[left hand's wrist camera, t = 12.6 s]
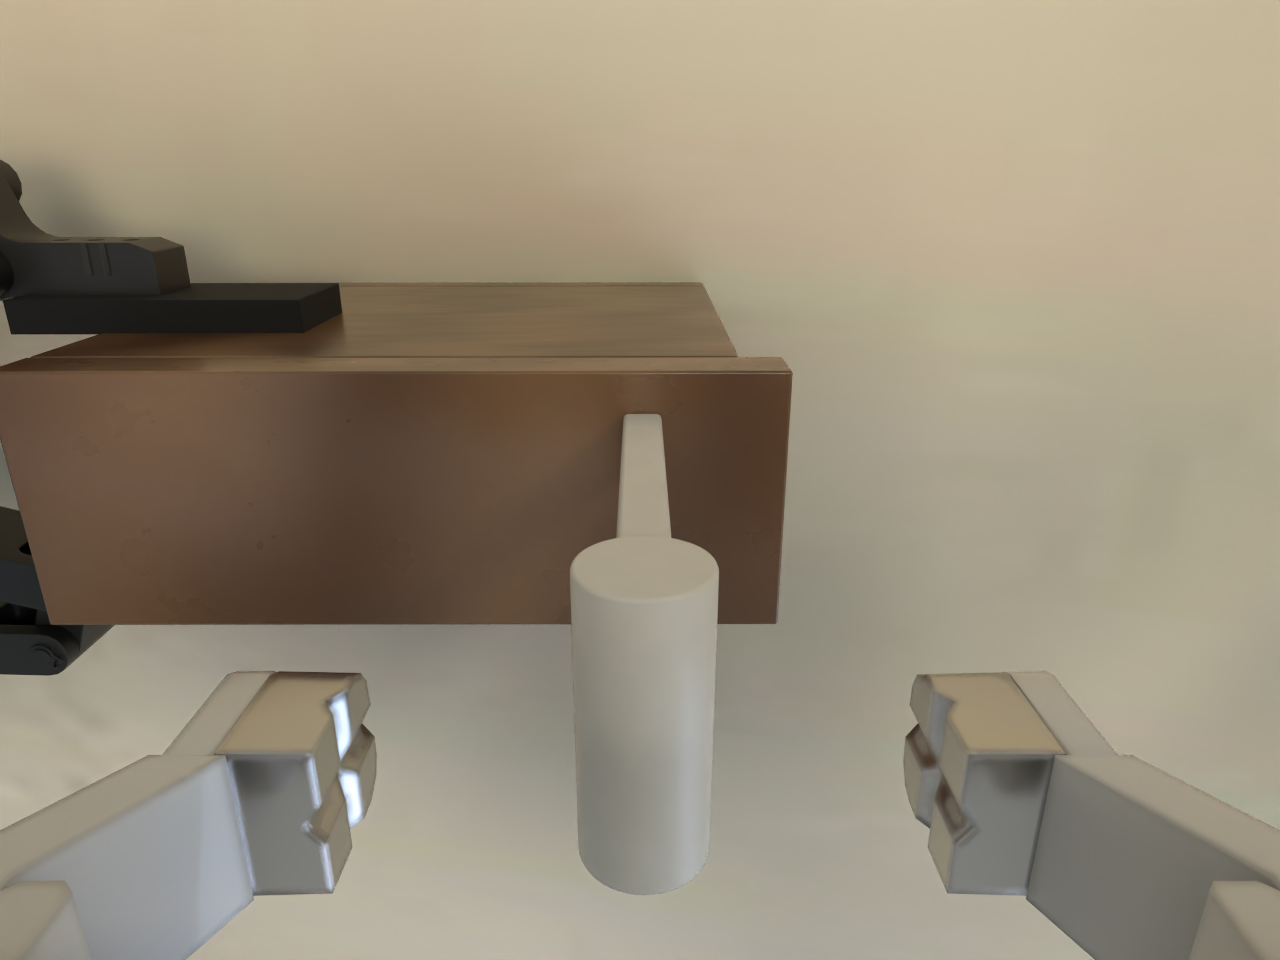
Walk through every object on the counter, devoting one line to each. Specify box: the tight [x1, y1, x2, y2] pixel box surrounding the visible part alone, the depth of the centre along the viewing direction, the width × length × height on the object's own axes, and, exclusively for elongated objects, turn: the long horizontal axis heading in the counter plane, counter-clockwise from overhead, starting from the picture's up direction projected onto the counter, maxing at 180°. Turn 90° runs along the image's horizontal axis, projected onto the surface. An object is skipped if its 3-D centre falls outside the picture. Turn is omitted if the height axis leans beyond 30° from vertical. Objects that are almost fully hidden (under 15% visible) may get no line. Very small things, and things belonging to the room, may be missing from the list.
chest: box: [31, 283, 738, 358], centre depth 23 cm, size 14×5×11 cm, turn 90°
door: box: [0, 357, 793, 895], centre depth 14 cm, size 15×5×9 cm, turn 90°
